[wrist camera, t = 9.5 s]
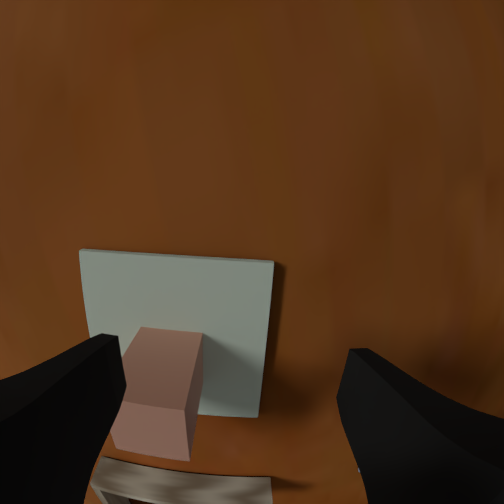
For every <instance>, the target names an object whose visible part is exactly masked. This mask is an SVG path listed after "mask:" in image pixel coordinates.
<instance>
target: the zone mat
mask: <svg viewBox="0 0 504 504" xmlns="http://www.w3.org/2000/svg"><path fill="white" fill-rule="evenodd" d="M79 258H80V269H81V279H82V288H83V296H84V303H85V310H86V316H87V323H88V328H89V334H90V338H91V337H94V336H96V335H98V334H101V333H104V334H110V335H117V336H118V337H119V344H120V350H121V357H123V355H124V353H125V352H126V350H127V348H128V347H129V345H130V343H131V342H132V340H133V339H134V337H135V335H136V334H137V332H138V331H139V329H140V327H149V328H157V329H167V330H177V331H188V332H199V333H203V386H202V392H201V397H200V403H199V409H198V414H203V415H215V416H231V417H258V412H259V404H260V395H261V387H262V378H263V369H264V360H265V351H266V341H267V332H268V322H269V312H270V302H271V291H272V281H273V270H274V261H269V260H252V259H235V258H218V257H201V256H185V255H169V254H154V253H138V252H123V251H108V250H93V249H81V250H79Z"/></svg>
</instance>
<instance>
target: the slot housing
mask: <svg viewBox="0 0 504 504" xmlns="http://www.w3.org/2000/svg"><path fill="white" fill-rule="evenodd" d="M90 485H91V486H92V488H93V490H94V491H95V493H96V494H97V496H98V497H99V499H100V500H101V502H102V503H103V504H131V503H130V502H129V500H128V498H131V499H136V500H140V501H145V502H150V503H155V504H273V501H272V490H271V478H270V477H230V476H214V475H202V474H193V473H184V472H177V471H170V470H163V469H157V468H152V467H146V466H141V465H136V464H132V463H127V462H123V461H119V460H114V459H111V458H107V457H103V456H101V458H100V461H99V463H98V466H97V468H96V470H95V473H94V475H93V478H92V480H91V482H90Z"/></svg>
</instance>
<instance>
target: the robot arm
mask: <svg viewBox="0 0 504 504" xmlns="http://www.w3.org/2000/svg"><path fill="white" fill-rule="evenodd" d="M126 387H127V384H126V379H125V373H124V368H123V362H122V357H121V350H120V344H119V337H118V336H117V335H110V334H104V333H101V334H98V335H96V336H94V337H91V338H89V339H87V340H85V341H84V342H82V343H80V344H78V345H76V346H74V347H72V348H70V349H69V350H67V351H65V352H63V353H61V354H59V355H57V356H55V357H53V358H51V359H49V360H47V361H45V362H43V363H41V364H39V365H37V366H35V367H32V368H30V369H28V370H26V371H24V372H21V373H19V374H16V375H13V376H11V377H8V378H5V379H2V380H0V504H84V499H85V495H86V491H87V487H88V484H89V480H90V477H91V473H92V470H93V467H94V465H95V462H96V460H97V458H98V455H99V453H100V451H101V449H102V447H103V445H104V442H105V440H106V438H107V436H108V434H109V432H110V430H111V428H112V425H113V423H114V421H115V419H116V417H117V415H118V412H119V410H120V407H121V404H122V401H123V397H124V394H125V391H126ZM336 398H337V403H338V408H339V413H340V417H341V422H342V425H343V428H344V430H345V433H346V436H347V438H348V441H349V444H350V446H351V449H352V452H353V454H354V457H355V460H356V462H357V465H358V471H359V472H360V473H361V476H362V479H363V482H364V486H365V490H366V495H367V499H368V504H504V419H502V418H498V417H495V416H492V415H489V414H486V413H482V412H479V411H477V410H474V409H471V408H469V407H467V406H464V405H462V404H460V403H458V402H455V401H453V400H451V399H449V398H447V397H445V396H443V395H441V394H440V393H438V392H436V391H434V390H432V389H431V388H429V387H427V386H425V385H424V384H422V383H421V382H419V381H417V380H416V379H414V378H413V377H411V376H410V375H408V374H406V373H405V372H403V371H402V370H400V369H399V368H397V367H396V366H394V365H393V364H392V363H390V362H389V361H387V360H386V359H384V358H383V357H381V356H379V355H378V354H376V353H375V352H373V351H371V350H369V349H368V348H360V349H349V353H348V357H347V361H346V365H345V369H344V372H343V376H342V379H341V383H340V387H339V390H338V393H337V397H336Z"/></svg>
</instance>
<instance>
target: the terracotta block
mask: <svg viewBox="0 0 504 504" xmlns="http://www.w3.org/2000/svg"><path fill="white" fill-rule="evenodd" d="M122 362H123V368H124V373H125V379H126V384H127V387H126V391H125V394H124V397H123V401H122V404H121V407H120V410H119V412H118V415H117V417H116V419H115V421H114V423H113V425H112V428H111V430H110V432H111V435H112V438H113V440H114V443H115V446H116V448H117V449H121V450H125V451H130V452H135V453H139V454H145V455H150V456H156V457H162V458H168V459H175V460H183V461H190V457H191V451H192V445H193V439H194V433H195V427H196V421H197V415H198V409H199V403H200V397H201V392H202V386H203V333H199V332H188V331H177V330H167V329H157V328H149V327H140V329H139V331H138V332H137V334H136V335H135V337H134V339H133V340H132V342H131V343H130V345H129V347H128V348H127V350H126V352H125V353H124V355H123V357H122Z"/></svg>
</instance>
